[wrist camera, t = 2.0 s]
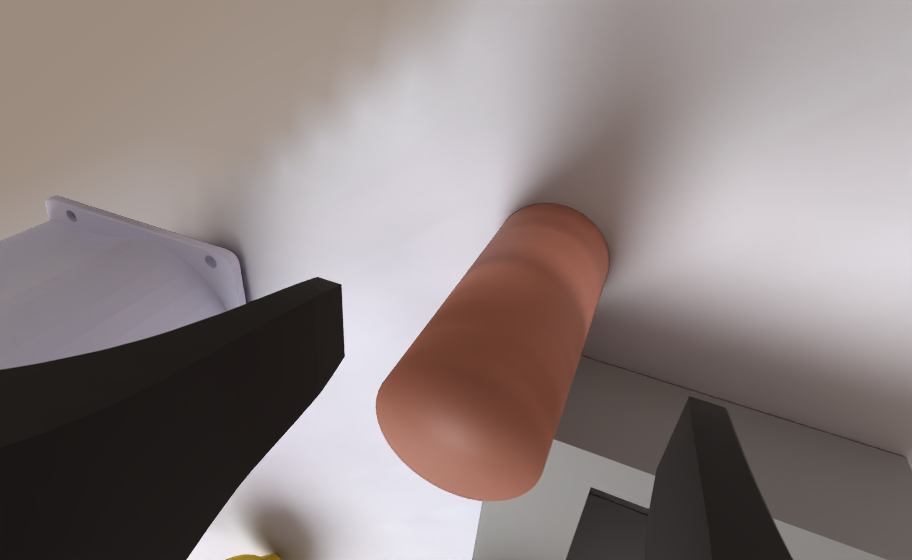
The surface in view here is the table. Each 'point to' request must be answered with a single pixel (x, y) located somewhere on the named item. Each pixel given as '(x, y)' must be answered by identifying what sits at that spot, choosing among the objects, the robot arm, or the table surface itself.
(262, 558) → the lemon
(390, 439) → the peg
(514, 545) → the socket block
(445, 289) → the table surface
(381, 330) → the table surface
